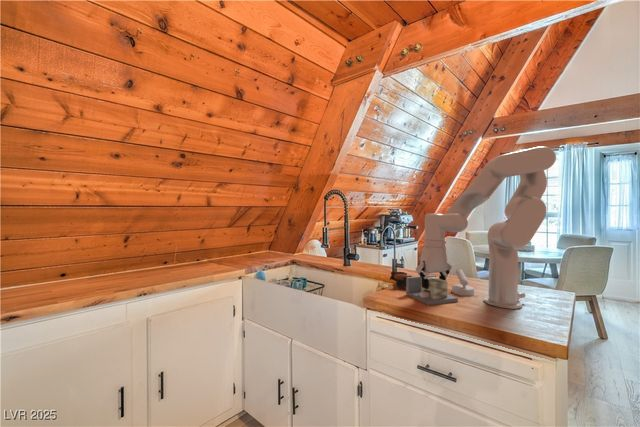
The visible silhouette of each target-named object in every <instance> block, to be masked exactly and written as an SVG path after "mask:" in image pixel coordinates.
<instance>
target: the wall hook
mask: <svg viewBox="0 0 640 427" xmlns="http://www.w3.org/2000/svg"><path fill="white" fill-rule="evenodd" d="M455 275H456V276H457V279H458V281H459V283H460V284H453V285H452V286H451V293H452V294H455V295H458V296H463V297H464V296H465V297H467V296H468V297H469V296H470V297H471V296H474V294H475V288H474V287H473V286H470V285H469V280H468V278H467V276H466V274H465V272H464V271H463V269H462V268H458V269H456V270H455Z"/></svg>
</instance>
